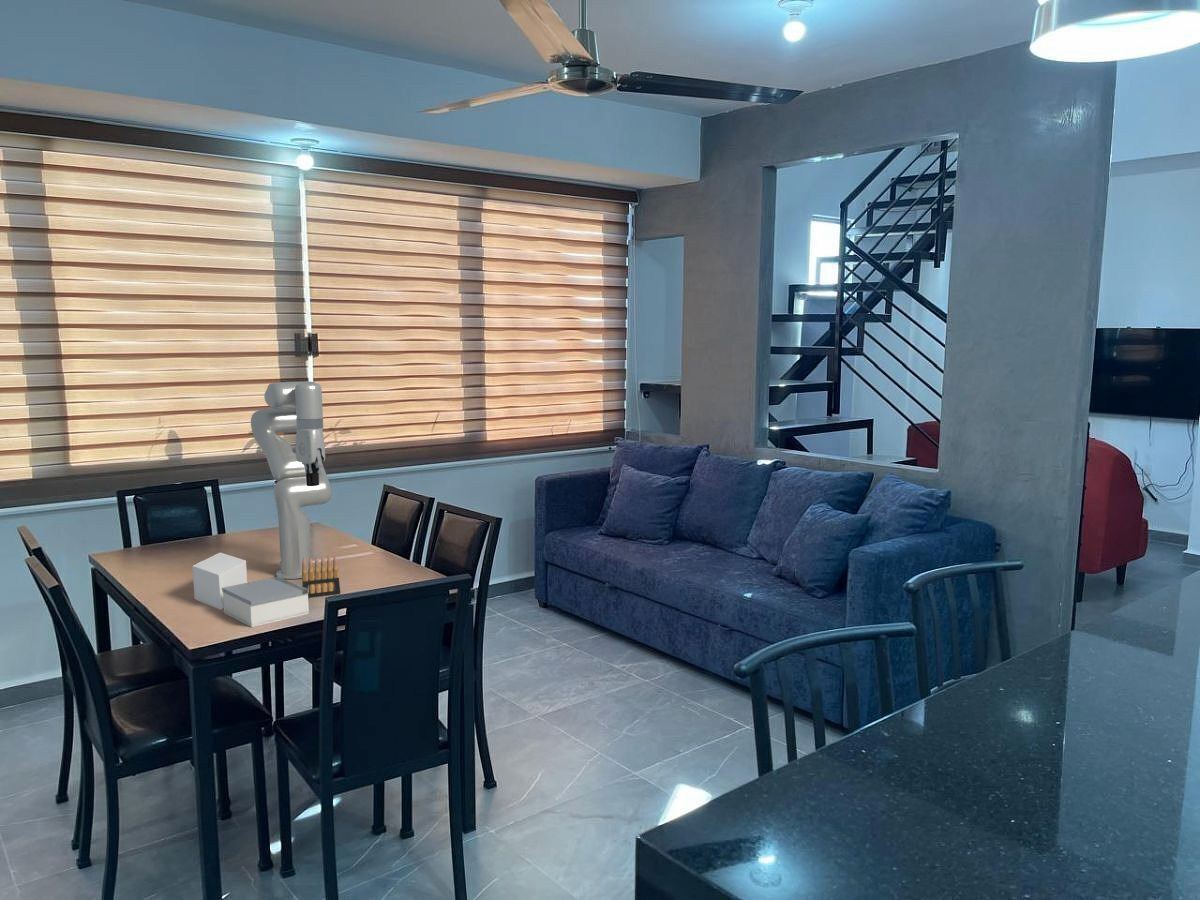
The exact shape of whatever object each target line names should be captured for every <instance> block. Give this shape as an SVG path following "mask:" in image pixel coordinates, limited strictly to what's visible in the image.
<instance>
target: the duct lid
mask: <svg viewBox="0 0 1200 900" xmlns="http://www.w3.org/2000/svg"><path fill="white" fill-rule="evenodd" d="M222 591H223V592H225V593H227V594H229V595H231V596H233V597H235V598H237V599H239V600H241V601H243V602H246V603H248V604H250V605H255V604H260V603H264V602H269V601H273V600H278V599H283V598H287V597H292V596H296V595H301V594H306V593H309V589H307V588H304V587H302V586H301V585H299V584H297V583H294V582H292V581H289V580H288V579H283V578H280V577H277V576H274V577H270V578H269V577H268V578H265V579H260V580H255V581H254V580H253V581H249V582H248V581H247V583H243V584H238V585H233V586H228V587H223V588H222Z"/></svg>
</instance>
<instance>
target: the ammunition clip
mask: <svg viewBox="0 0 1200 900" xmlns="http://www.w3.org/2000/svg"><path fill="white" fill-rule="evenodd" d="M320 560H321V561H320V562H319V557H318V556H315V558H314V564H313V558H312V559H311V557H310V558H309V570H308V572H307V566H306V560H305V558H303V562H302V578H301V581H302V587H304V588H307V589H309V593H308V599H310V598H311V599H313V598H319V597H326V596H336V595H340V594H341V587H340V586H341V585H340V574H339V564H338V557H337V555H336V554H334V555H333V560H332V559H331V556H330V554H329V555H328V556H327V560H325V556H324V555H322V556H321V559H320ZM332 561H333V562H332ZM332 563H333V564H332ZM326 564H327V565H326ZM313 567H315V575H314V570H313Z"/></svg>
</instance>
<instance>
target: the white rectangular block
mask: <svg viewBox="0 0 1200 900" xmlns="http://www.w3.org/2000/svg"><path fill="white" fill-rule="evenodd" d="M192 578H193V591H194V593H193V595H194V600H195V599H196V601H199V602H200V603H203V604H205V605H208V606H211V607H213V608H215V609H217V610H221V611H222V610H224V601H223V591H222V588H223V587H228V586H233V585H238V584H243V583H248V572H247V561H246V560H245V559H242V558H239V557H236V556H233V555H229V554H226V553H223V552H218V553H216V554H214V555H212V556H210V557H208V558H205V559H204V560H201V561H199V562H197V563H196V564H194V565H192Z"/></svg>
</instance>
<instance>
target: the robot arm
mask: <svg viewBox="0 0 1200 900" xmlns="http://www.w3.org/2000/svg"><path fill="white" fill-rule="evenodd" d="M322 391H323V390H322V386H321V385H320V384H319V383H316V382H315V381H307V380H306V381H284V382H283V381H282V382H280V381H279V382H272V383H269V384H268V385H267V387H266V390H265V392H264V395H263V397H264V402H265V403H266V405H267V406H269V408H268V407H267V408H262V409H259V410H256V411H255V412H253V414H252V415H251V417H250V428H251V431H252V435H253V438H254V440H255V441H256V443H257V444H258V446H259V448H261V450H262V452H263V453H264V455H265V457H266V460H267V464H268V466H269V470H270V472H271V474H272V477H273V479H274V480H275V481H276V483H275V484H274V487H273V495H274V500H275V501H274V502H275V504H276V511H277V518H278V519H277V520H278V534H279V553H280V561H279V564H280V569H279V570H277V571H276V573H275V574H276V576H275V577H280V578H282V579H285V580H295V579H302V562H303V558H305V560H306V566H307V572H308V570H309V558H310V557H311V559H312V560H313V558H312V557H313V556H312V555H313V554H312V539H311V536H312V535H311V520H310V518H309V516H308V514H307V513H305V511H303V510H302V509H301V508H303V507H304V508H305V507H308V506H309V507H310V506H319V505H325V504H326V503H328V502H329V501H330V500H331V499H332V493H333V492H332V488H331V487H332V486H331V484H330V480H329V478H328V475H327V473H326V469H325V467H324V465H323V463H324V462H325V461H326V446H325V439H324V438H325V437H324V431H323V430H324V415H323V414H324V411H323V410H324V409H323V392H322ZM283 433H296V435H295V452H294V451H293V448H292V446H291V444H290V443H289V441H287V440H286V439H285V438H284V437H282V436H281V435H279V434H283ZM313 570H314V576H315V566H313Z"/></svg>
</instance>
